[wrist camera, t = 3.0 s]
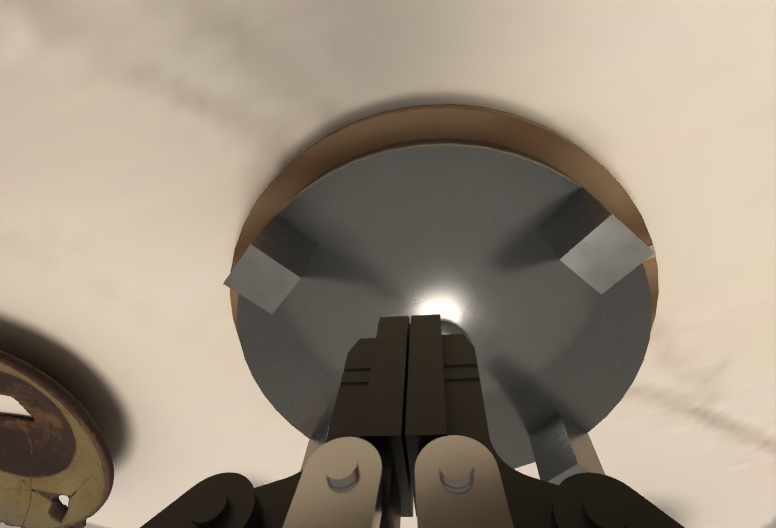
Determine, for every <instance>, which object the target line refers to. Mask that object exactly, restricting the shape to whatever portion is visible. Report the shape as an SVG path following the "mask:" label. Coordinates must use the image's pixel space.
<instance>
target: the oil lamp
mask: <svg viewBox="0 0 776 528" xmlns="http://www.w3.org/2000/svg"><path fill="white" fill-rule="evenodd" d="M0 394H2V395H7V396H11V397H13V398H14V399H15V400H17V401H18V402H19V404H20V405H22V406H23V407H24V409H25V410H26V411H27V412H28V413H29V414H31V415H32V417H33V418H34V419H35V420H30V419H25V418H24V419H22V418H18V417H14V416H3V415H0V522H3V523H5V524H6V525H10V526H18V527H21V528H84V527H85V526H86V520H87V518H89V517H91V516H92V515H94V514H95V513H96V512H97V511H98V510H99V509H100V508H101V507H102V506H103V505H104V503H105V502H106V500H107V499H108V497H109V495H110V492H111V489H112V486H113V480H114V467H113V461H112V457H111V453H110V450H109V447H108V445H107V443H106V441H105V440H104V437H103V436H102V434H101V432H100V431H99V429H98V427H97V425H96V424H95V422H94V421H93V419H92V417H91V416H90V414H89V413H88V412H87V410H86V409H85V408H84V406H83V405H82V404H81V403H80V402H79V401H78V400H77V399H76V398H75V397H74V396H72V395H71V394H70V393H69V392H68V391H67V390H66V389H65V388H64V387H62V386H61V385H60V384H59V383H58V382H56V381H55V380H54V379H52V378H51V377H50V376H48V375H46V374H45V373H43V372H42V371H40V370H38V369H37V368H35V367H33V366H32V365H30V364H28V363H27V362H25V361H23V360H21V359H19V358H16V357H14V356H12V355H10V354H8V353H5V352H3V351H1V350H0ZM60 495H67V496H68V497H69V503H68V507H67V506H66V505H63V504H62V502H61V501H60V500H59V496H60Z"/></svg>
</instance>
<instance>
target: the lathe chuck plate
mask: <svg viewBox="0 0 776 528" xmlns="http://www.w3.org/2000/svg"><path fill="white" fill-rule="evenodd" d="M653 254H654V252H653V251H652V250H651V249H650V248H649V247H648V246H647V245H646V244H645V243H644V242H643V241H641V240H640V239H639V238H638V237H637V236H636V235H635V234H634V233H633V232H632V231H631V230H630V229H628V228H627V227H626V226H625V225H624V224H623V223H622V222H621V221H620V220H619V219H618V218H617V217H615V216H614V215H613V214H612V213H611V212H610V211H609V210H608V209H607V208H606V207H604V206H603V205H602V204H601V203H600V202H599V201H598V200H597V199H596V198H595V197H594V196H593V195H591V194H590V193H589V192H588V191H587V190H586V189H585V188H584V187H582V186H581V185H579V184H578V183H577V182H576V181H574V180H573V179H572V178H570V177H569V176H568V175H567V174H565V173H564V172H562V171H560V170H558V169H557V168H555V167H553V166H551V165H549V164H548V163H546V162H544V161H542V160H540V159H538V158H536V157H533V156H531V155H528V154H525V153H523V152H520V151H517V150H515V149H512V148H509V147H505V146H500V145H496V144H492V143H487V142H483V141H476V140H464V139H453V138H440V139H417V140H412V141H406V142H401V143H395V144H389V145H385V146H382V147H379V148H376V149H373V150H370V151H367V152H363V153H360V154H358V155H356V156H354V157H351V158H349V159H347V160H345V161H343V162H341V163H339V164H337V165H335V166H333V167H331V168H330V169H328V170H327V171H325V172H324V173H322V174H321V175H319V176H318V177H316V178H315V179H313V180H312V181H310V182H309V183H308V184H307V185H306V186H304V187H303V188H302V189H301V190H300V191H299V192H298V193H297V194H296V195H294V196H293V197H292V198H291V199H290V200H289V201H288V203H287V204H286V205H285V206H284V207H283V209H282V210H281V211H280V212H279V213H278V215H276V214H275V216H274V217H273V218H272V219H271V220H270V221H269V223H268V224H267V225H266V226H265V227H264V229H263V230H262V231H261V232H260V233H259V235H258V236H257V237H256V238H255V239H254V240H253V242H252V243H251V244H250V245H249V247H248V248H247V250H246V251H245V253H244V254H243V256H242V257H241V259H240V260H239V261H238V263H237V264H236V266H235V267H234V269H233V270H232V272H231V273H230V275H229V276H228V277H227V279H226V280H225V282H224V283H223V284H225V285H226V286H228V287H229V288H231V289H232V290H234V291H236V292H237V293H239V294H238V305H237V323H238V331H239V339H240V343H241V346H242V350H243V353H244V357H245V360H246V362H247V365H248V367H249V369H250V371H251V373H252V376H253V378H254V379H255V381H256V383H257V384H258V386H259V388H260V389H261V391H262V392H263V394H264V395H265V397H266V398H267V399H268V400H269V402H270V403H271V404H272V405H273V406H274V408H275V409H276V410H277V411H278V412H279V413H280V414H281V415H282V416H283V417H284V418H285V419H286V420H287V421H288V422H289V423H290V424H291V425H292V426H294V427H295V428H296V429H297V430H299V431H300V432H301V433H303V434H304V435H305V436H306V437H308V438H309V443H308V446H307V450H306V453H305V457H304V460H303V464H302V467H301V471H302V470H303V469H304V467H305V465H306V463H307V461H308V459H309V458H310V456H311V455H312V454H313V453H314V452H315V451H316V450H317V449H318V448H319V447H321V446H322V445H324V444H325V442H326V439H327V435H328V431H329V427H330V423H331V419H332V415H333V411H334V407H335V403H336V399H337V395H338V391H339V387H340V386H341V378H342V374H343V372H344V366H345V362H346V358H347V354H348V352H349V351H350V350H351V348H352V347H353V346H354V345H355V344H356V342H357V341H358V340H359V339H361V338H376V335H377V329H378V323H379V318H380V317H395V316H409V317H410V324H411V316H413V315H432V314H440V317H441V331H442V335H447V334H464V335H465V336H466V337H467V339H468V340H469V341H470V342H471V343H472V345H473V346H474V347H475V352H476V358H477V364H478V370H479V376H480V382H481V388H482V395H483V401H484V407H485V413H486V419H487V425H488V431H489V437H490V441H491V444H492V446H493V448H494V450H495V451H496V453H497V454H498V456H499V457H500V458H501V459H502V460H503V461H504V462H505V463H506V464H507V465H509V466H510V467H511V468H513V469H514V468H518V467H521V466H524V465H527V464H530V463H533V462H535V461H536V465H537V469H538V472H539V476H540V480H543V481H546V482H549V483H553V484H556V485H559V484H560V483H561V482H562V481H563V480H565V479H566V478H567V477H569V476H572V475H574V474H578V473H587V472H590V473H599V474H603V475H605V473H604V471H603V468H602V466H601V464H600V461H599V459H598V456H597V454H596V452H595V449H594V447H593V444H592V442H591V440H590V437H589V435H588V432H589V431H590V430H591V429H593V428H594V427H595V426H596V425H597V424H598V423H599V422H601V421H602V420H603V419H604V418H605V417H606V416H607V415H608V414H609V413H610V412H611V411H612V410H613V408H614V407H615V406H616V405H617V404H618V403H619V402H620V401H621V399H622V398H623V396H624V395H625V393H626V392H627V390H628V389H629V387H630V386H631V384H632V383H633V381H634V379H635V377H636V375H637V373H638V371H639V369H640V367H641V365H642V363H643V360H644V356H645V353H646V350H647V346H648V343H649V339H650V331H651V323H652V303H651V292H650V287H649V283H648V279H647V274H646V270H645V268H644V266H643V263H642V262H644V261H645V260H646V259H648V258H649V257H650V256H651V255H653ZM514 470H515V469H514Z"/></svg>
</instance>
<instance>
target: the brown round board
mask: <svg viewBox="0 0 776 528" xmlns="http://www.w3.org/2000/svg"><path fill="white" fill-rule="evenodd" d="M440 138H453V139H464V140H476V141H483V142H487V143H492V144H496V145H500V146H505V147H509V148H512V149H515V150H517V151H520V152H523V153H525V154H528V155H531V156H533V157H536V158H538V159H540V160H542V161H544V162H546V163H548V164H549V165H551V166H553V167H555V168H557V169H558V170H560V171H562V172H564V173H565V174H567V175H568V176H569V177H570V178H572V179H573V180H574V181H576V182H577V183H578V184H579V185H581V186H582V187H584V188H585V189H586V190H587V191H588V192H589V193H590V194H591V195H593V196H594V197H595V198H596V199H597V200H598V201H599V202H600V203H601V204H602V205H603V206H604V207H606V208H607V209H608V210H609V211H610V212H611V213H612V214H613V215H614V216H615V217H617V218H618V219H619V220H620V221H621V222H622V223H623V224H624V225H625V226H626V227H627V228H628V229H630V230H631V231H632V232H633V233H634V234H635V235H636V236H637V237H638V238H639V239H640V240H641V241H643V242H644V243H645V244H646V245H647V246H648V247H649V248H650V249H651V250H652V251H653V252H654V254H653V255H651V256H650V257H649V258H648V259H646V260H645V261H644V262H642V263H643V266H644V268H645V270H646V274H647V279H648V283H649V287H650V292H651V303H652V323H651V329H652V325H653V322H654V319H655V315H656V307H657V300H658V292H659V291H658V266H657V262H656V254H655V250H654V246H653V243H652V240H651V237H650V235H649V233H648V230H647V228H646V225H645V223H644V220H643V218H642V216H641V214H640V212H639V211H638V209H637V208H636V206H635V205H634V203H633V201H632V200H631V198H630V197H629V195H628V193H627V192H626V191H625V190H624V188H623V187H622V186H621V185H620V184H619V183H618V182H617V181H616V180H615V178H614V177H613V176H612V175H611V174H610V173H609V172H608V171H607V170H606V169H605V168H604V167H603V166H602V165H600V164H599V163H598V162H597V161H595V160H594V159H593V158H592V157H590V156H589V155H588V154H587V153H585V152H584V151H583V150H582V149H580V148H579V147H577V146H576V145H575V144H573V143H572V142H570V141H568V140H567V139H565V138H563V137H561V136H560V135H558V134H556V133H555V132H553V131H551V130H549V129H548V128H546V127H544V126H542V125H539V124H537V123H534V122H531V121H529V120H526V119H524V118H521V117H519V116H516V115H513V114H509V113H505V112H500V111H496V110H492V109H488V108H483V107H474V106H463V105H451V104H445V105H425V106H413V107H408V108H403V109H397V110H392V111H387V112H383V113H380V114H377V115H374V116H371V117H368V118H365V119H362V120H359V121H356V122H353V123H351V124H349V125H347V126H345V127H343V128H341V129H339V130H337V131H335V132H334V133H332V134H330V135H328V136H326V137H324V138H323V139H322V140H320V141H319V142H317V143H316V144H314V145H313V146H312V147H310V148H309V149H307V150H306V151H304V152H303V153H302V154H301V155H300V156H299V157H298V158H297V159H296V160H294V161H293V162H292V163H291V164H290V165H289V166H288V167H287V168H286V169H285V170H284V171H283V172H282V173H281V174H280V175H279V176H278V177H276V178H275V179H274V180H273V181H272V183H271V184H270V185H269V187H268V188H267V189H266V190H265V192H264V193H263V194H262V196H261V197H260V198H259V199H258V201H257V202H256V204H255V205H254V207H253V209H252V211H251V213H250V215H249V216H248V218H247V220H246V222H245V224H244V225H243V228H242V231H241V234H240V236H239V239H238V242H237V245H236V248H235V252H234V257H233V263H232V268H231V272H232V270H233V269H234V267H235V266H236V264H237V263H238V261H239V260H240V259H241V257H242V256H243V254H244V253H245V251H246V250H247V248H248V247H249V245H250V244H251V243H252V242H253V240H254V239H255V238H256V237H257V236H258V235H259V233H260V232H261V231H262V230H263V229H264V227H265V226H266V225H267V224H268V223H269V221H270V220H271V219H272V218H273V217H274V216H275V214H276V215H278V213H279V212H280V211H281V210H282V209H283V207H284V206H285V205H286V204H287V203H288V201H289V200H290V199H291V198H292V197H293V196H294V195H296V194H297V193H298V192H299V191H300V190H301V189H302V188H303V187H304V186H306V185H307V184H308V183H309V182H310V181H312V180H313V179H315V178H316V177H318V176H319V175H321V174H322V173H324V172H325V171H327V170H328V169H330V168H331V167H333V166H335V165H337V164H339V163H341V162H343V161H345V160H347V159H349V158H351V157H354V156H356V155H358V154H360V153H363V152H367V151H370V150H373V149H376V148H379V147H382V146H385V145H389V144H395V143H401V142H406V141H412V140H417V139H440ZM238 294H239V293H237V292H236V291H234V290H232V289H231V288H230V298H231V306H232V314H233V319H234V323H235V326H236V330H237V333H238V337H239V331H238V323H237V305H238ZM650 332H651V331H650ZM239 340H240V339H239Z"/></svg>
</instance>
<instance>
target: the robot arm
mask: <svg viewBox="0 0 776 528" xmlns="http://www.w3.org/2000/svg"><path fill="white" fill-rule="evenodd" d="M413 496H414V503H415V511H416V517H417V522H418V528H684V527H683V526H682V525H680V524H679V523H678V522H676V521H675V520H673V519H672V518H671V517H669V516H668V515H667V514H665V513H664V512H663V511H661V510H660V509H659V508H657V507H656V506H655V505H653V504H652V503H651V502H649V501H648V500H647V499H645V498H644V497H643V496H641V495H640V494H639V493H637V492H636V491H634V490H633V489H632V488H630V487H629V486H627V485H626V484H624V483H623V482H621V481H619V480H617V479H615V478H612V477H609V476H607V475H603V474H599V473H590V472H587V473H578V474H574V475H572V476H569V477H567V478H566V479H565V480H563V481H562V482H561V483H560V484H559V485H556V484H553V483H549V482H546V481H543V480H539V479H536V478H532V477H530V476H527V475H524V474H522V473H520V472H518V471H516V470H514V469H513V468H511V467H510V466H509V465H507V464H506V463H505V462H504V461H503V460H502V459H501V458H500V457H499V456H498V454H497V453H496V451H495V450H494V448H493V446H492V444H491V441H490V437H489V431H488V425H487V419H486V413H485V407H484V401H483V395H482V388H481V382H480V376H479V370H478V364H477V358H476V352H475V347H474V346H473V345H472V343H471V342H470V341H469V340H468V339H467V337H466V336H465V335H464V334H447V335H442V331H441V317H440V314H432V315H413V316H411V324H410V317H409V316H395V317H380V318H379V323H378V329H377V335H376V338H361V339H359V340H358V341H357V342H356V344H355V345H354V346H353V347H352V348H351V350H350V351H349V352H348V354H347V358H346V362H345V366H344V372H343V374H342V378H341V386H340V387H339V391H338V395H337V399H336V403H335V407H334V411H333V415H332V419H331V423H330V427H329V431H328V435H327V439H326V442H325V444H324V445H322V446H321V447H319V448H318V449H317V450H316V451H315V452H314V453H313V454H312V455H311V456H310V458H309V459H308V461H307V463H306V465H305V467H304V469H303V470H302V471H300V472H299V473H297V474H295V475H293V476H290V477H288V478H285V479H282V480H279V481H275V482H272V483H269V484H266V485H263V486H260V487H257V488H253V485H252V484H251V482H250V481H249V480H248V479H247V478H246V477H245V476H243V475H241V474H237V473H221V474H217V475H213V476H211V477H209V478H206V479H205V480H203V481H201V482H199V483H198V484H196V485H195V486H193V487H192V488H191V489H190V490H188V491H187V492H186V493H184V494H183V495H182V496H180V497H179V498H178V499H177V500H175V501H174V502H173V503H171V504H170V505H169V506H168V507H166V508H165V509H164V510H162V511H161V512H160V513H158V514H157V515H156V516H155V517H153V518H152V519H151V520H149V521H148V522H147V523H145V524H144V525H143V526H142V527H140V528H400V517H413Z"/></svg>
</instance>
